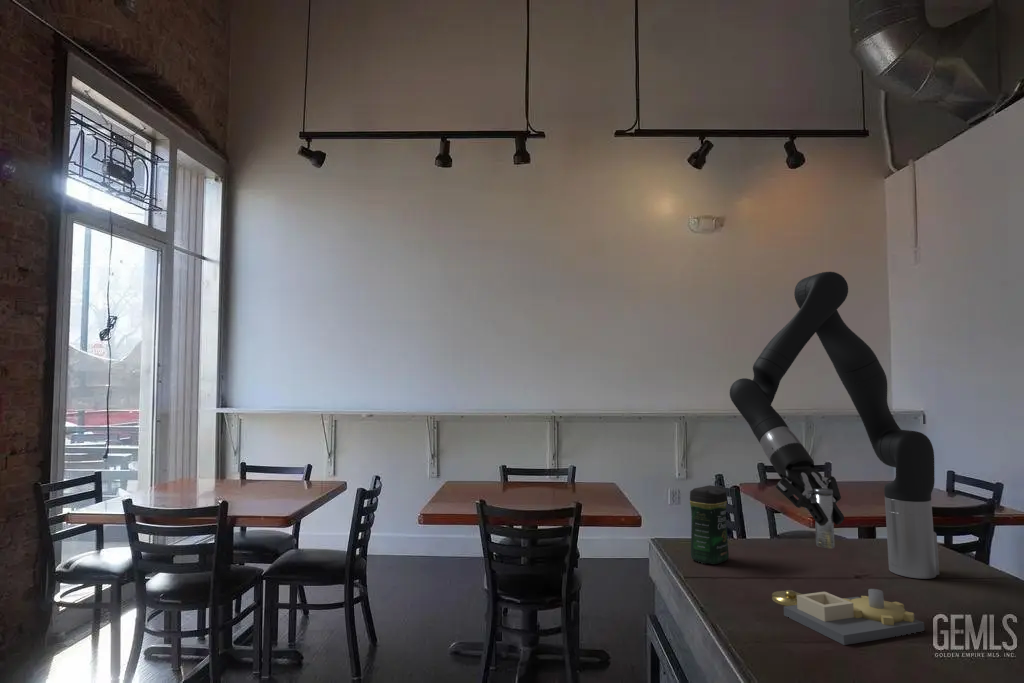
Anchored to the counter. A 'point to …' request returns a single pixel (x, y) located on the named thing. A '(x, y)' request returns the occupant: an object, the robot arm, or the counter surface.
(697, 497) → the coffee jar
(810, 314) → the robot arm
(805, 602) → the gear board
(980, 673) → the counter surface
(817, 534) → the grey cylinder peg
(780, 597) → the brass knob disc
